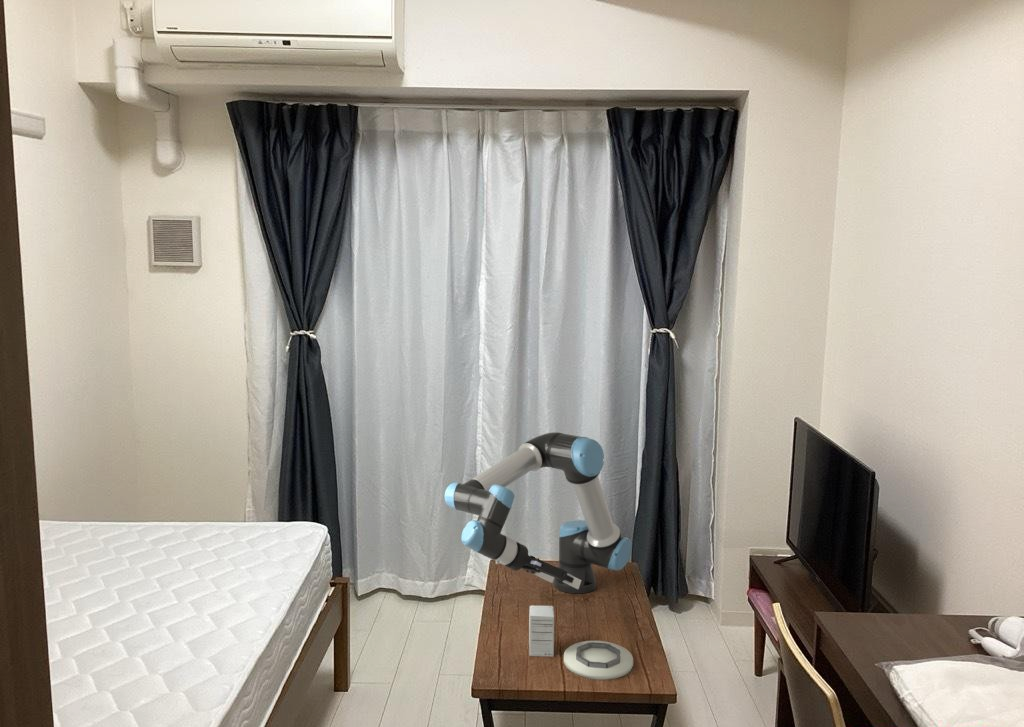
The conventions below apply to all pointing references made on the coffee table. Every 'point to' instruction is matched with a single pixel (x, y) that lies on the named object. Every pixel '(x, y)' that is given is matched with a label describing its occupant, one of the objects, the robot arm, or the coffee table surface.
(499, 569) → the coffee table surface
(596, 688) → the coffee table surface
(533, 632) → the supplement box
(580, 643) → the plate
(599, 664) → the seat ring
